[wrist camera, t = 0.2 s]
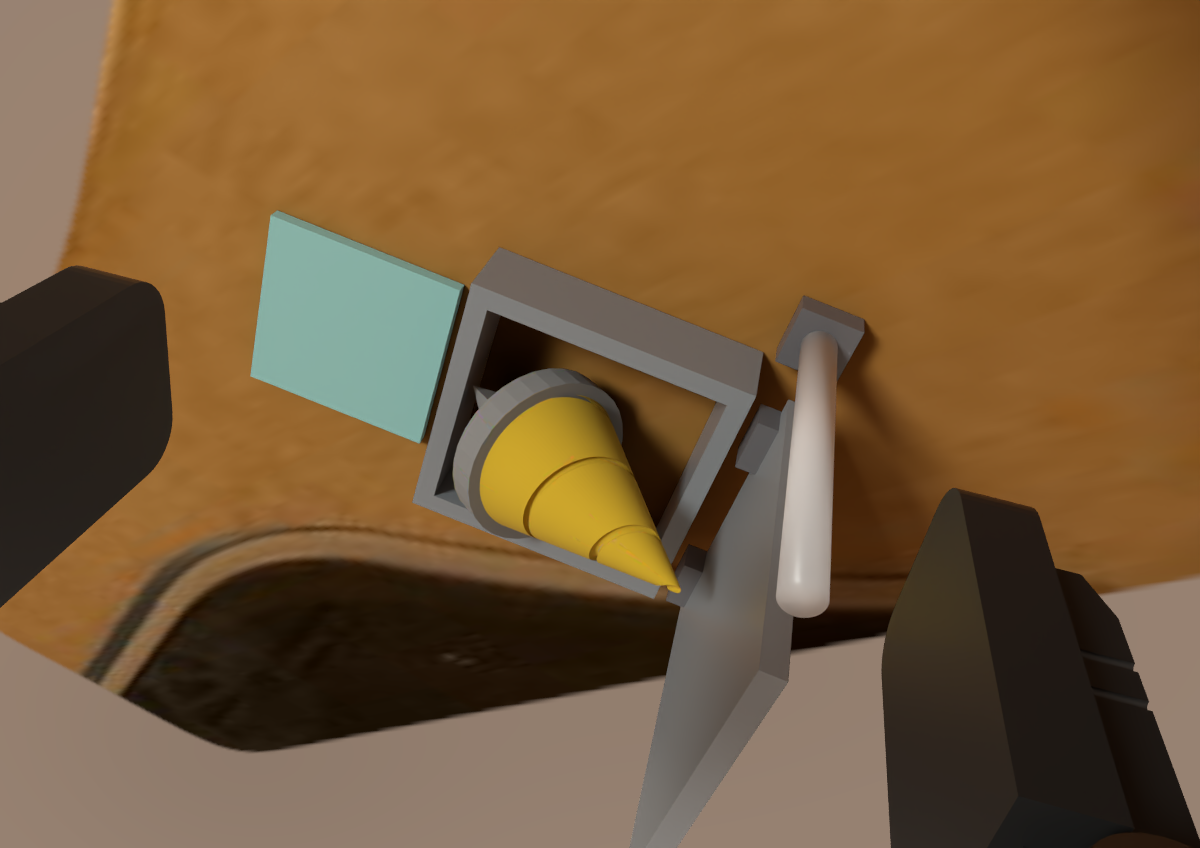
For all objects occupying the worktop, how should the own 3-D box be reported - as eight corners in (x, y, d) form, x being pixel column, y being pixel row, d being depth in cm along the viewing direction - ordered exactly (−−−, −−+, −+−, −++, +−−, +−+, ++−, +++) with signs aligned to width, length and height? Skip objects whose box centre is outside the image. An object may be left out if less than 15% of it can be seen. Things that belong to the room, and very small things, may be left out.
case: (517, 181, 27) (327, 405, 17) (864, 319, 27) (869, 621, 17) (439, 458, 33) (264, 742, 23) (724, 571, 33) (668, 903, 23)
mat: (277, 210, 29) (271, 215, 29) (464, 285, 29) (459, 290, 29) (256, 370, 33) (250, 376, 32) (423, 436, 33) (419, 443, 32)
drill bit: (506, 293, 30) (718, 465, 23) (582, 390, 34) (782, 560, 27) (376, 415, 29) (556, 627, 23) (468, 500, 33) (644, 700, 27)
